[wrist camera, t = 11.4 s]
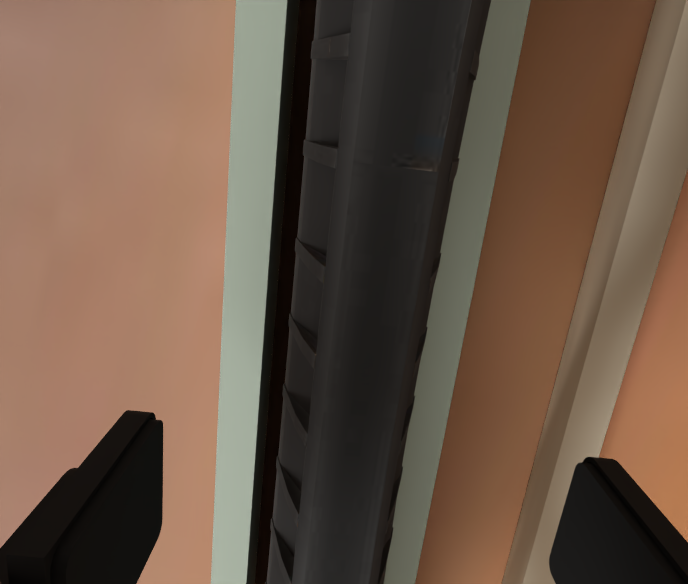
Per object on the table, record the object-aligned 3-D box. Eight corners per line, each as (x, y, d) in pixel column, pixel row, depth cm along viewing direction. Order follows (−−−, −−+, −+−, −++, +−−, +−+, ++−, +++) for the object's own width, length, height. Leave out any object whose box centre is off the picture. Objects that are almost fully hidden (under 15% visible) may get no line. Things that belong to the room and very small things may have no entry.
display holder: (541, -272, 13) (613, -416, 10) (367, 700, 24) (373, 792, 20) (277, -317, 13) (256, -482, 9) (221, 691, 23) (202, 784, 20)
